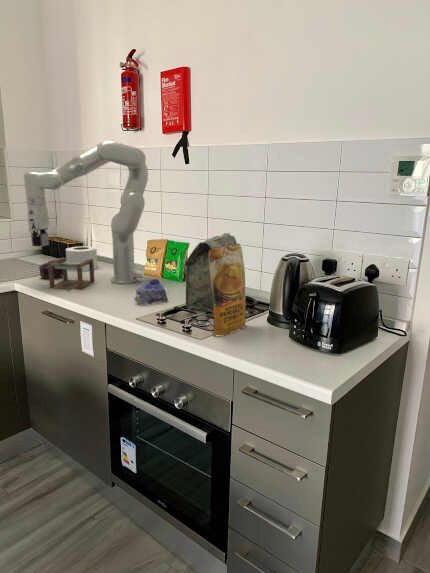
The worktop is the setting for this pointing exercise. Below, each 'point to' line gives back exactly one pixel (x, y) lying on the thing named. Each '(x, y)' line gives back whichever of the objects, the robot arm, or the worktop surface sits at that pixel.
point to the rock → (45, 273)
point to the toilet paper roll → (82, 256)
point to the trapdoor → (69, 267)
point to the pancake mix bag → (227, 288)
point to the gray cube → (42, 239)
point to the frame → (67, 283)
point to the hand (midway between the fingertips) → (40, 244)
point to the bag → (202, 272)
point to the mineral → (151, 292)
